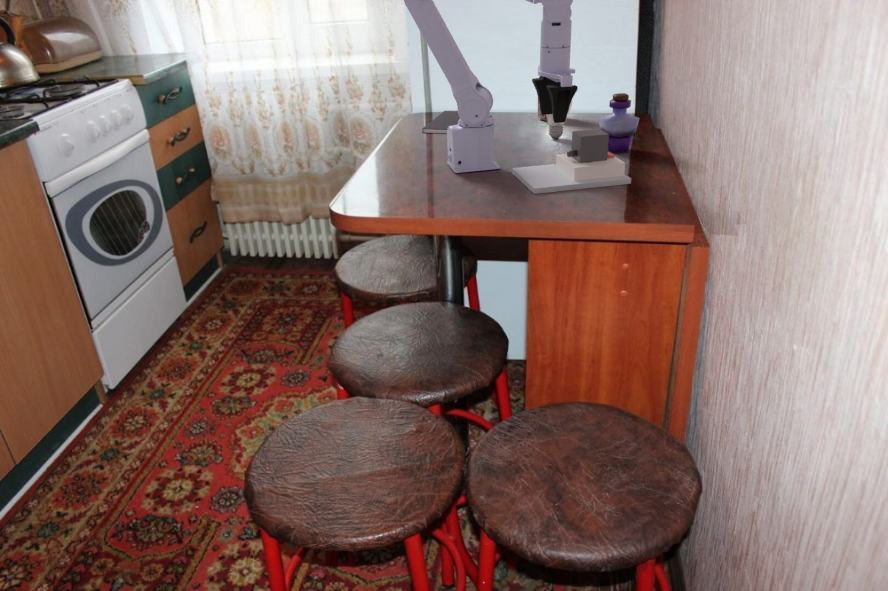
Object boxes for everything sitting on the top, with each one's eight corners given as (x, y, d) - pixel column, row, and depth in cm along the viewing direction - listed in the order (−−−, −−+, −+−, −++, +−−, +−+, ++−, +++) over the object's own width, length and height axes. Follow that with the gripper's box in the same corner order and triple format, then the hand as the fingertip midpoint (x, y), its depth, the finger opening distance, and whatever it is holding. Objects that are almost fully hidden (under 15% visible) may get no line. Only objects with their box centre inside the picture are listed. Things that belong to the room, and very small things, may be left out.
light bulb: (576, 140, 166) (578, 86, 160) (549, 144, 163) (551, 90, 158) (561, 134, 171) (562, 82, 166) (535, 137, 169) (536, 85, 164)
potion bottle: (645, 149, 156) (650, 93, 151) (620, 157, 151) (624, 99, 146) (614, 143, 162) (617, 88, 157) (588, 150, 157) (591, 94, 152)
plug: (563, 163, 141) (564, 132, 138) (597, 160, 142) (599, 129, 139) (571, 169, 137) (572, 137, 134) (606, 166, 138) (608, 134, 135)
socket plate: (555, 166, 143) (556, 151, 142) (603, 162, 145) (603, 146, 144) (574, 180, 135) (574, 164, 133) (624, 175, 136) (625, 159, 135)
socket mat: (534, 193, 132) (534, 188, 131) (512, 173, 144) (512, 168, 144) (630, 183, 135) (631, 178, 135) (601, 164, 147) (601, 159, 147)
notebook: (444, 116, 197) (422, 134, 178) (444, 110, 196) (422, 128, 178) (490, 117, 194) (472, 136, 175) (490, 111, 193) (472, 129, 175)
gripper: (589, 49, 131) (585, 124, 137) (562, 40, 144) (559, 109, 150) (552, 52, 130) (550, 127, 136) (528, 42, 143) (527, 111, 149)
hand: (552, 118), depth 143 cm, fingers open, 7 cm apart
